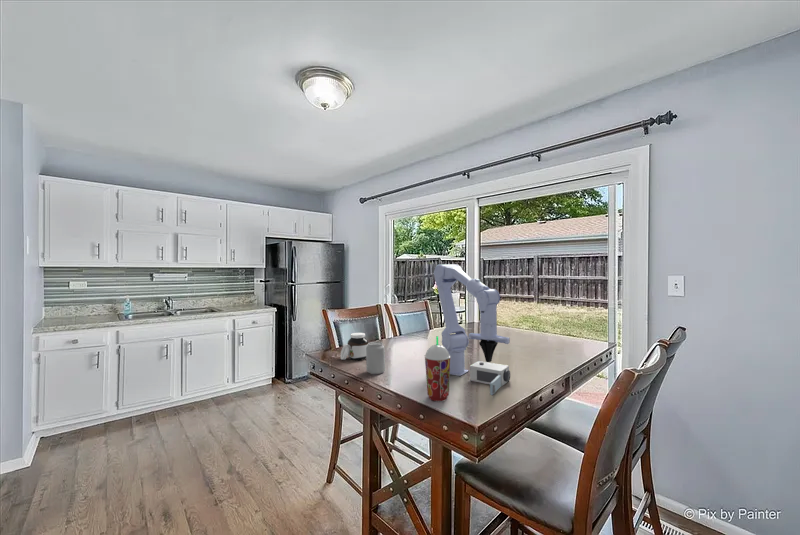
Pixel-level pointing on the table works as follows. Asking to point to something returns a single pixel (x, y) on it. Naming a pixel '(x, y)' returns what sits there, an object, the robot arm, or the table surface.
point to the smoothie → (437, 372)
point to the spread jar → (355, 347)
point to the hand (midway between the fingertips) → (488, 361)
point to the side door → (495, 384)
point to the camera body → (489, 372)
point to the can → (375, 358)
